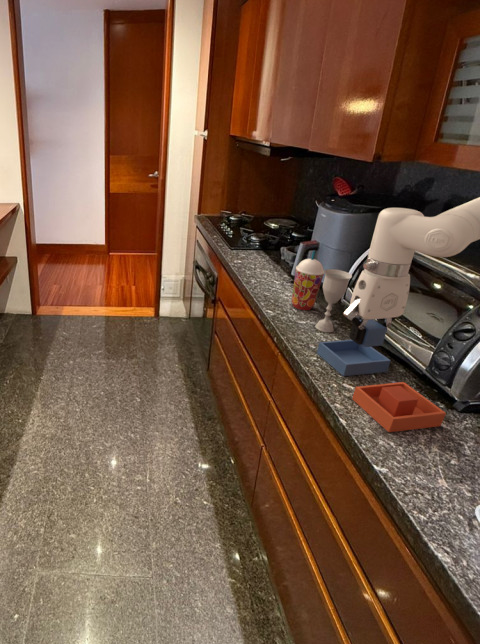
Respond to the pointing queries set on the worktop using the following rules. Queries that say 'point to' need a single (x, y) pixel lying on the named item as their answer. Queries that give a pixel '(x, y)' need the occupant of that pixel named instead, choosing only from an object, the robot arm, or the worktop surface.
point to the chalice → (332, 294)
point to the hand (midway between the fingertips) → (366, 339)
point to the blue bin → (352, 358)
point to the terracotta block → (397, 401)
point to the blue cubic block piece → (374, 334)
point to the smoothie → (307, 283)
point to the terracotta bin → (421, 417)
